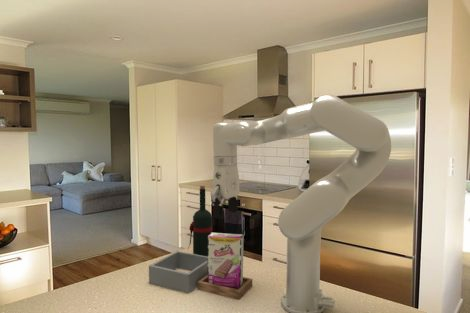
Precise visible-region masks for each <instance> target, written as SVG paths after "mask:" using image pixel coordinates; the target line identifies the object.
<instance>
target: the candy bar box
mask: <svg viewBox="0 0 470 313" xmlns="http://www.w3.org/2000/svg"><path fill="white" fill-rule="evenodd" d="M244 236H245V235H244V234H241V233H240V234H239V233H223V232H213V233H211V234H210V235H209V236H208V270H207V283H211V284H215V285H220V286H224V287H231V288H240V287H241V285H242V283H243V277H244V241H245V240H244Z"/></svg>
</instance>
